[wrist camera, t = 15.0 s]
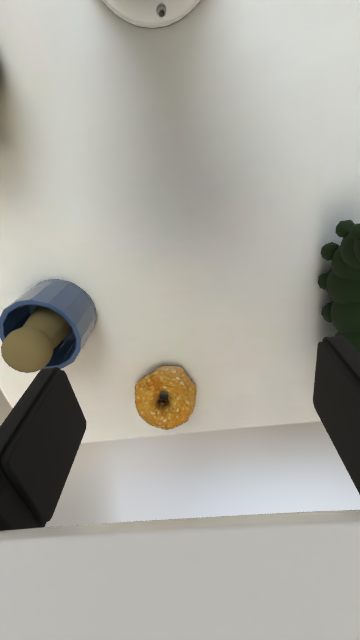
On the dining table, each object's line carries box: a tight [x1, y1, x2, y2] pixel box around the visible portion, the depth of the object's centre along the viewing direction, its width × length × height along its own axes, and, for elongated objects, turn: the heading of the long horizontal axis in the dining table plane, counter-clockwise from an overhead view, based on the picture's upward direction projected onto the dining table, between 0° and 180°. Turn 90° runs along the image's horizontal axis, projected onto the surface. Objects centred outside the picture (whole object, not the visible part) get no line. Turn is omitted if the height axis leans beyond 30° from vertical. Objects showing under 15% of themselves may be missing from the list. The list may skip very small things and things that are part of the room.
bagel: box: [135, 366, 196, 430], centre depth 45 cm, size 10×11×5 cm
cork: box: [1, 305, 73, 373], centre depth 36 cm, size 6×6×11 cm
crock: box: [0, 279, 97, 369], centre depth 38 cm, size 10×10×7 cm
